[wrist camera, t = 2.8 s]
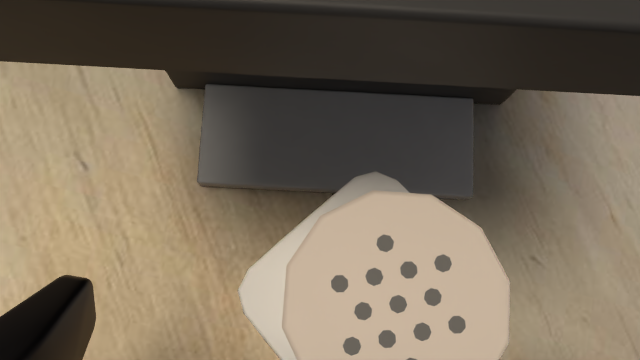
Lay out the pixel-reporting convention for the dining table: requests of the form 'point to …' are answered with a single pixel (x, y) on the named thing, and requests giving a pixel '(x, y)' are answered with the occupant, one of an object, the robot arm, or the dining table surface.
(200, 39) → the coffee maker
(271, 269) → the pepper shaker
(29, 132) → the dining table surface
